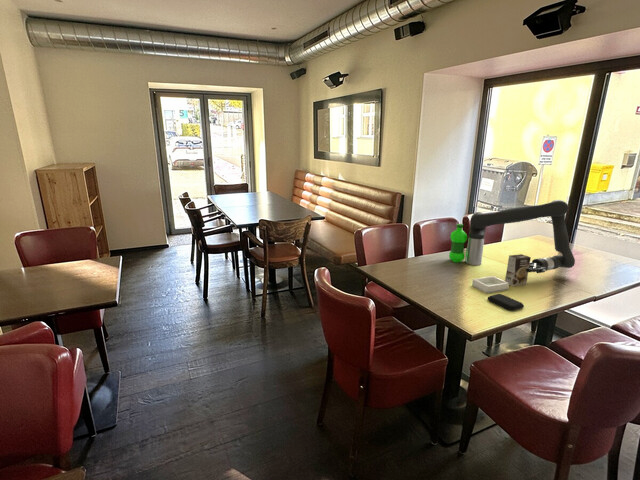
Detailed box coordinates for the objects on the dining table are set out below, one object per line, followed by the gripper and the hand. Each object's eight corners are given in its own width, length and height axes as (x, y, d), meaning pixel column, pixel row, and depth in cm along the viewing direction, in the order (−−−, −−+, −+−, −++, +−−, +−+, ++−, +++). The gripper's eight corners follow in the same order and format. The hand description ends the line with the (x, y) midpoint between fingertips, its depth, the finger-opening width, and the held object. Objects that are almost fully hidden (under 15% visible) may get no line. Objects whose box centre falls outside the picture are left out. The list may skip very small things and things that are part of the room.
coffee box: (513, 286, 191) (517, 258, 187) (504, 282, 197) (508, 255, 193) (526, 284, 193) (531, 257, 189) (517, 280, 199) (521, 253, 195)
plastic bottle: (467, 263, 228) (471, 226, 221) (450, 263, 228) (454, 226, 222) (461, 258, 238) (465, 222, 231) (445, 258, 238) (449, 222, 231)
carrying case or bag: (527, 308, 167) (500, 297, 179) (528, 302, 166) (500, 291, 179) (511, 313, 162) (485, 300, 175) (512, 307, 161) (485, 295, 174)
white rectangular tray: (472, 285, 193) (472, 279, 192) (492, 282, 197) (493, 275, 196) (487, 293, 183) (488, 286, 181) (508, 290, 187) (509, 283, 186)
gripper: (532, 254, 204) (510, 257, 199) (555, 262, 191) (532, 265, 186) (530, 266, 206) (509, 270, 201) (553, 275, 193) (530, 278, 188)
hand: (520, 267), depth 193 cm, fingers open, 8 cm apart
